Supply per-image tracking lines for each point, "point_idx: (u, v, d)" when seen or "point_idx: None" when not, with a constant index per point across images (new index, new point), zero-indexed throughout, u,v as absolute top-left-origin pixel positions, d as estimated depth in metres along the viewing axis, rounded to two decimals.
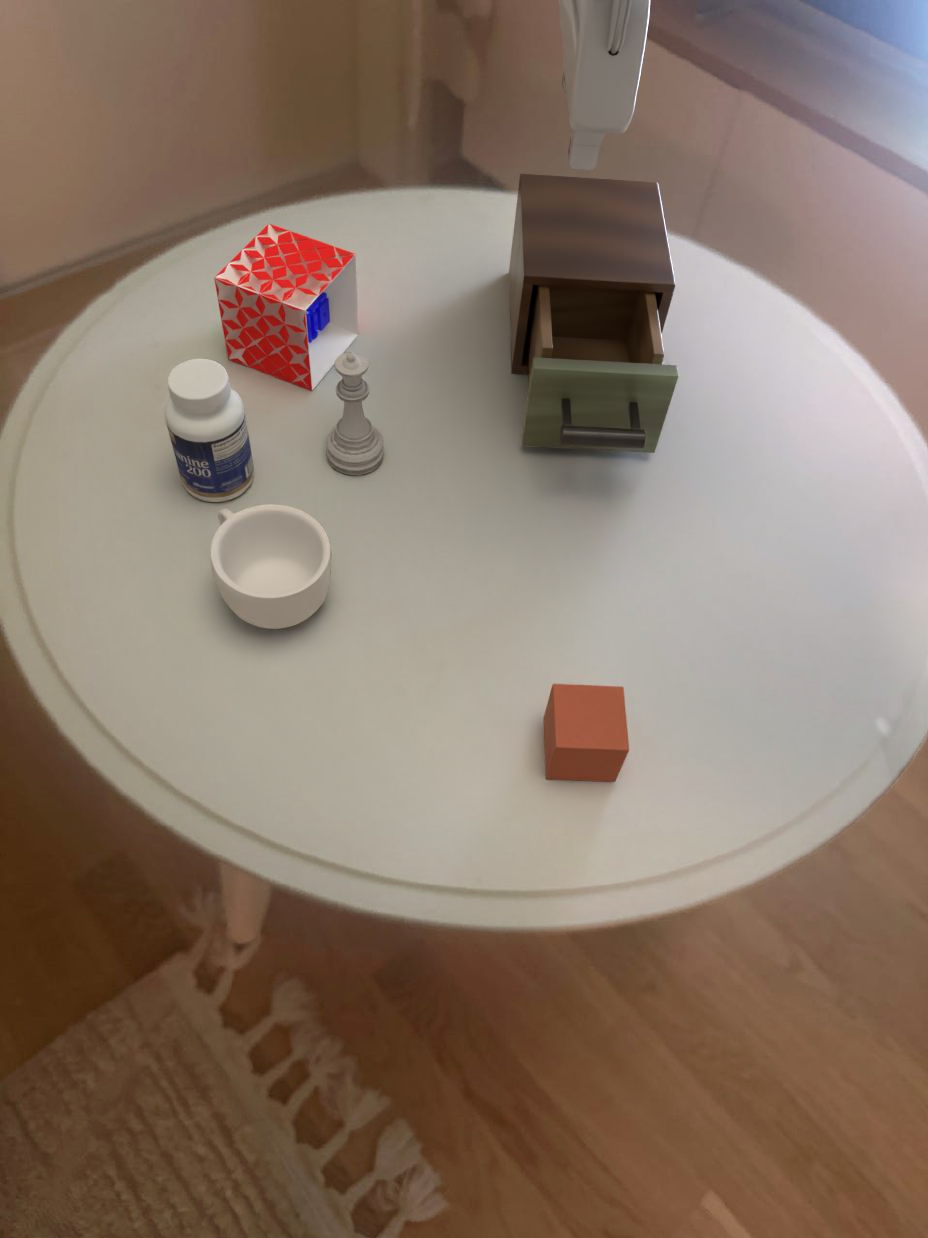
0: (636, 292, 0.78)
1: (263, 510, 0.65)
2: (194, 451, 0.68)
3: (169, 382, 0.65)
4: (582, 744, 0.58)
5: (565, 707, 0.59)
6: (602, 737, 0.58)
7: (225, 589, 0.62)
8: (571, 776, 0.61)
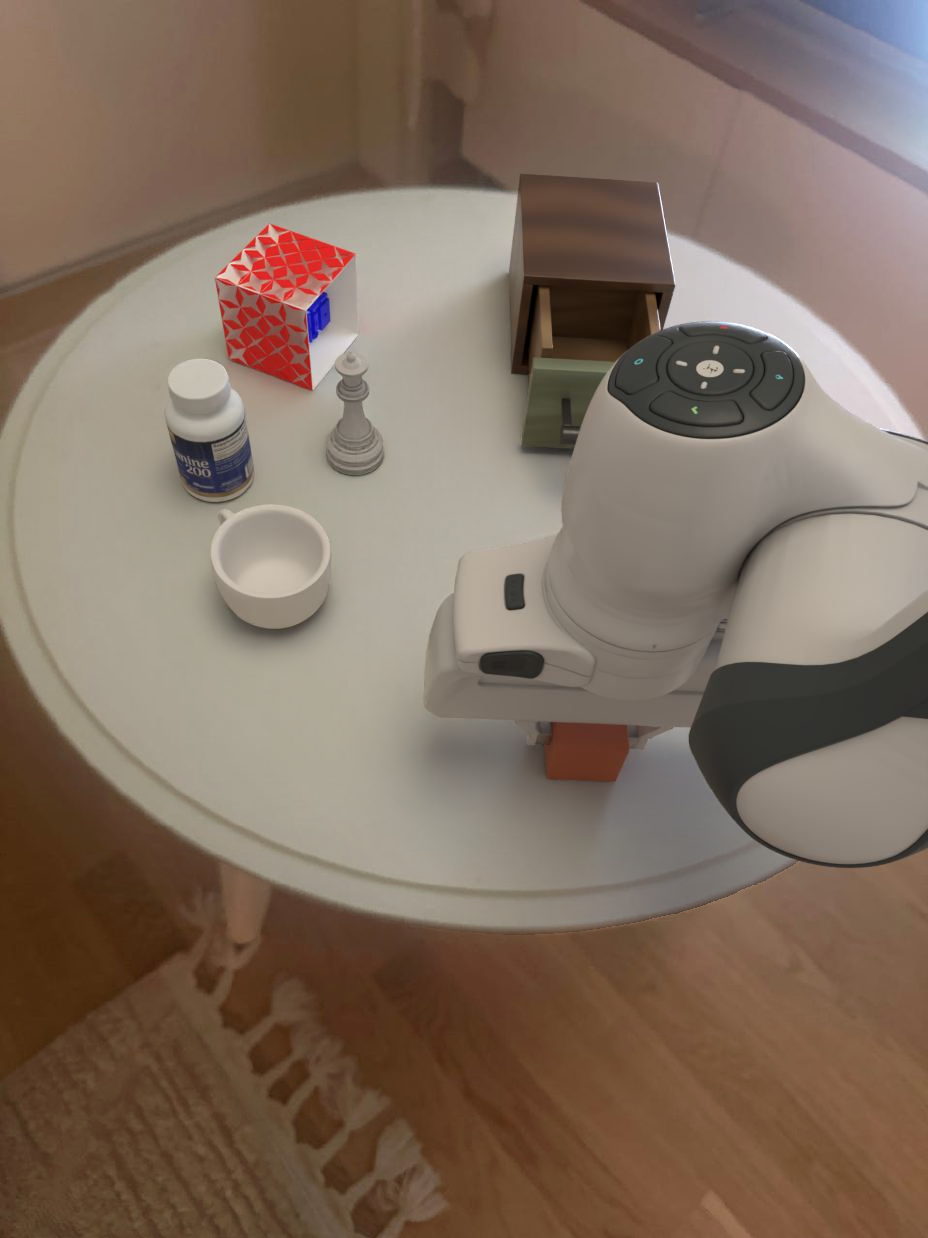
0: (636, 292, 0.78)
1: (263, 510, 0.65)
2: (194, 451, 0.68)
3: (169, 382, 0.65)
4: (583, 744, 0.58)
5: None
6: (603, 737, 0.58)
7: (225, 589, 0.62)
8: (572, 776, 0.61)
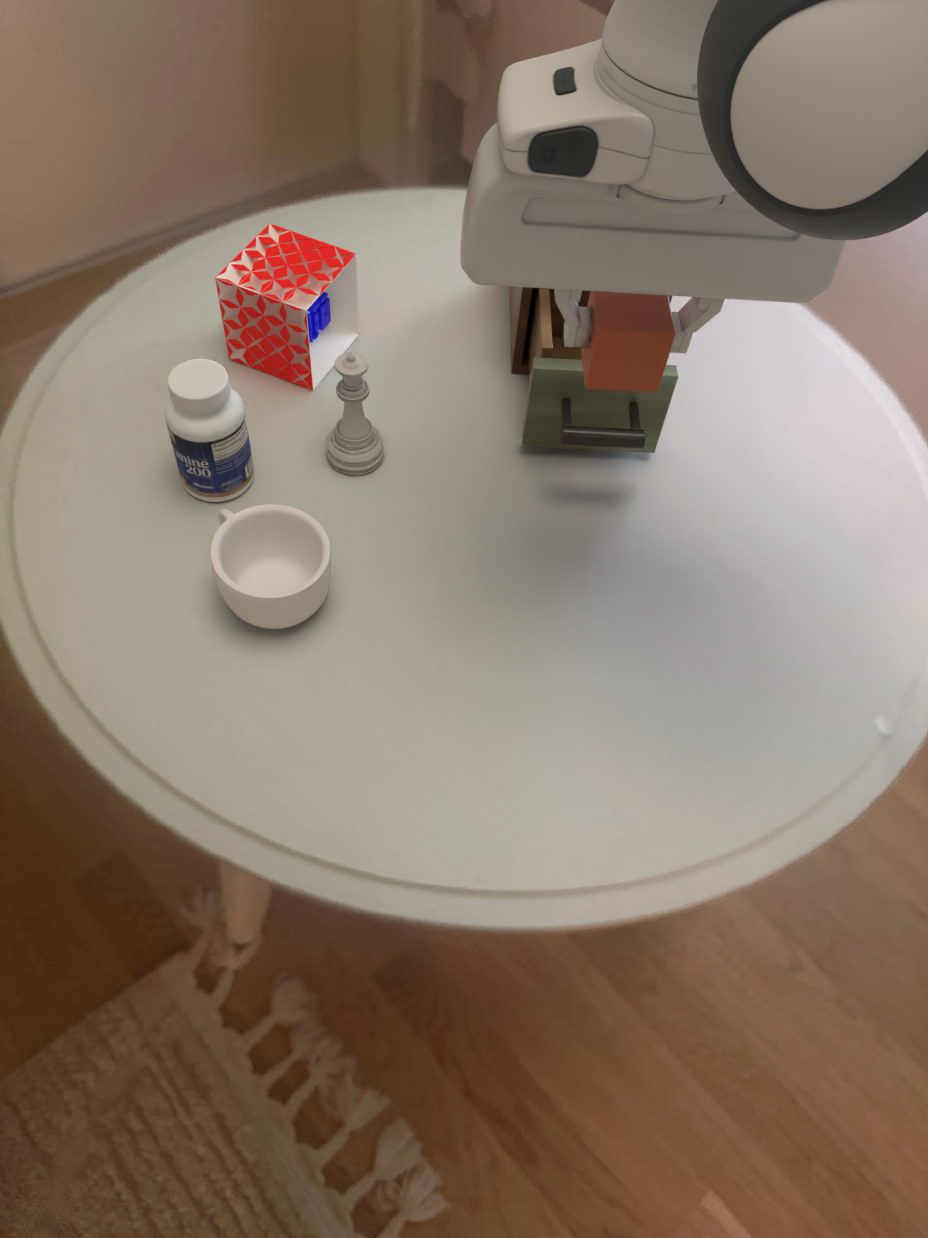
0: None
1: (263, 510, 0.65)
2: (194, 451, 0.68)
3: (169, 382, 0.65)
4: (626, 328, 0.55)
5: (607, 299, 0.56)
6: (647, 323, 0.55)
7: (225, 589, 0.62)
8: (612, 383, 0.58)
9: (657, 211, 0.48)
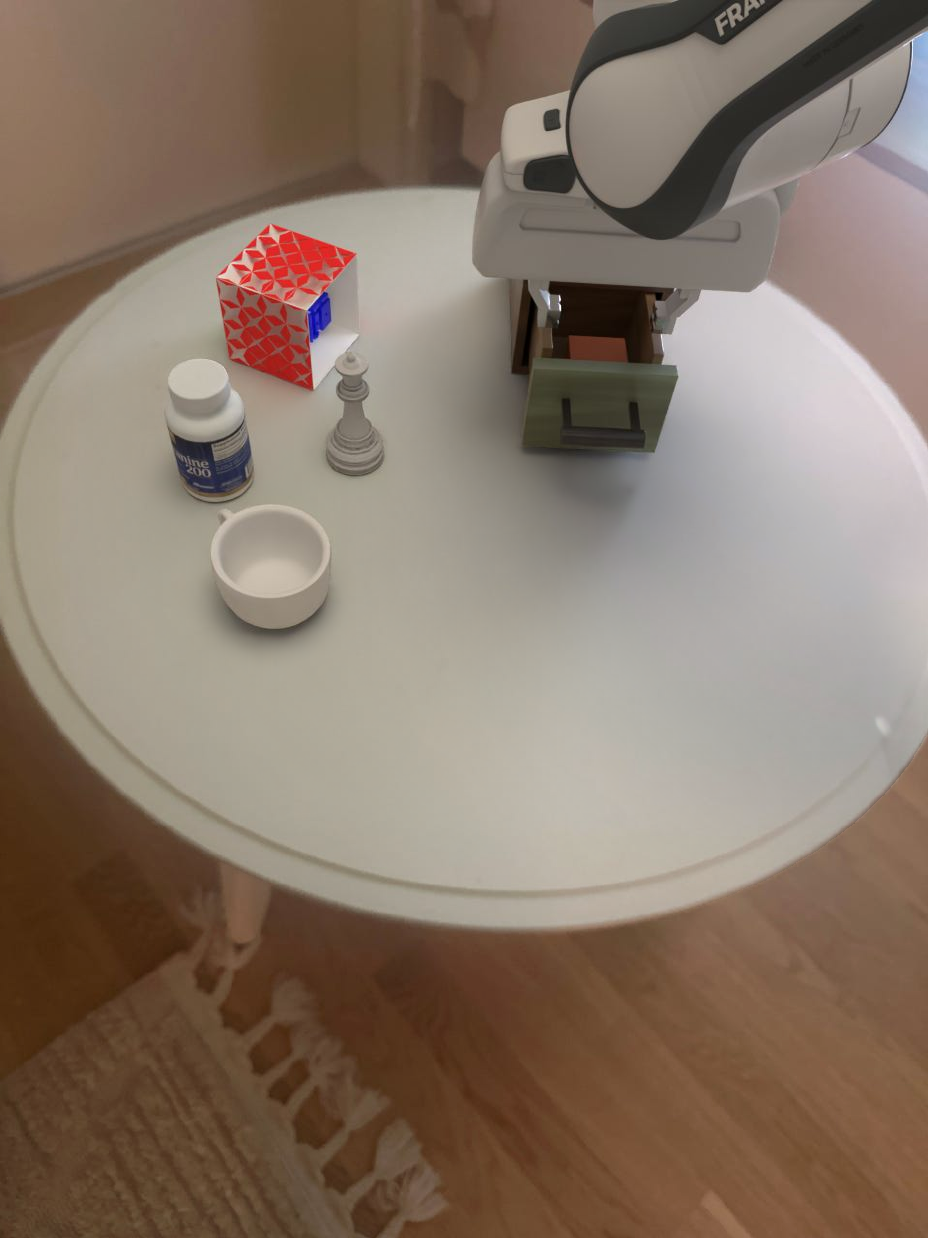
0: (636, 292, 0.78)
1: (263, 510, 0.65)
2: (194, 451, 0.68)
3: (169, 382, 0.65)
4: None
5: (579, 349, 0.75)
6: None
7: (225, 589, 0.62)
8: None
9: None
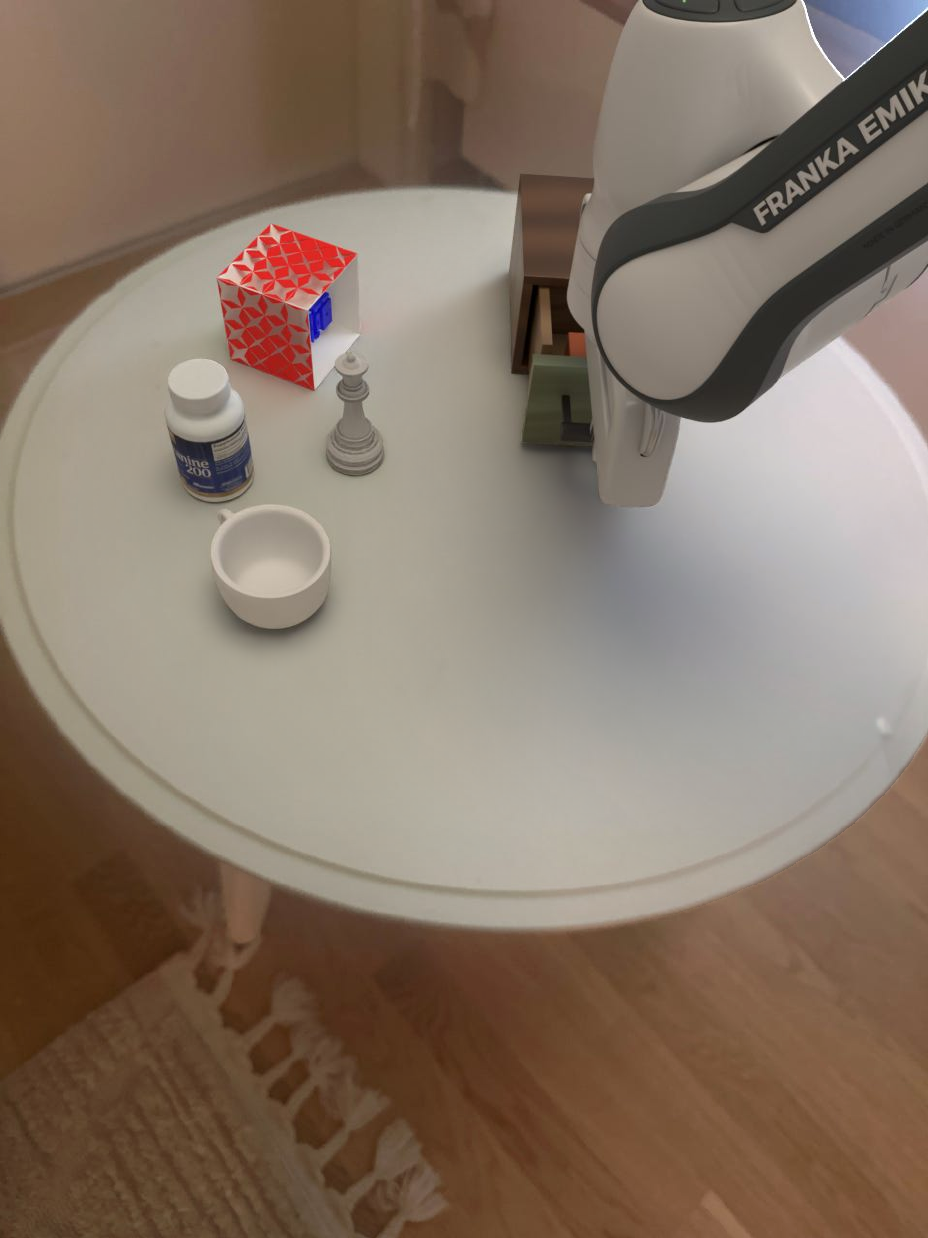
0: None
1: (263, 510, 0.65)
2: (194, 451, 0.68)
3: (169, 382, 0.65)
4: None
5: (578, 346, 0.75)
6: None
7: (225, 589, 0.62)
8: None
9: None
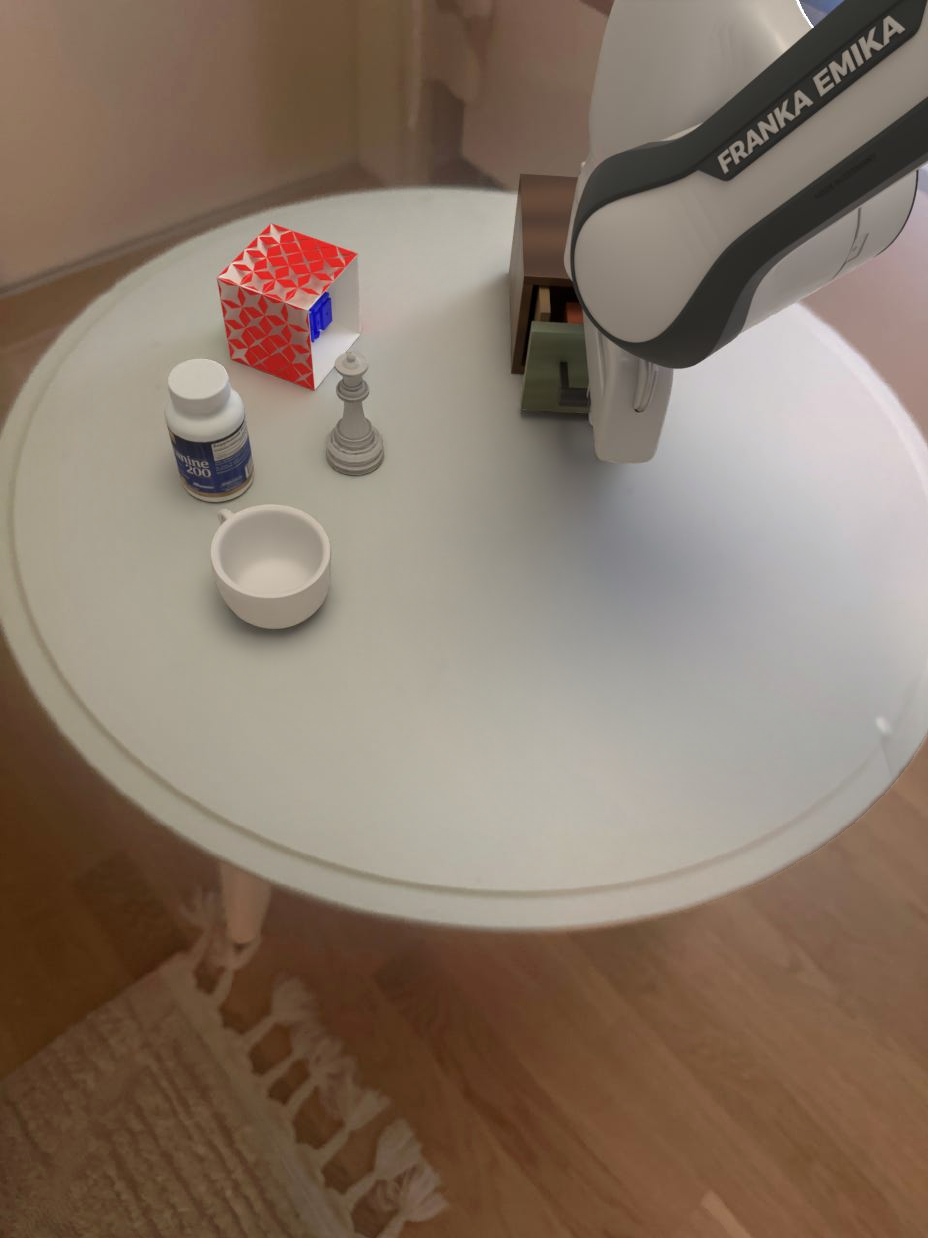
0: None
1: (263, 510, 0.65)
2: (194, 451, 0.68)
3: (169, 382, 0.65)
4: None
5: (576, 315, 0.77)
6: None
7: (225, 589, 0.62)
8: None
9: None
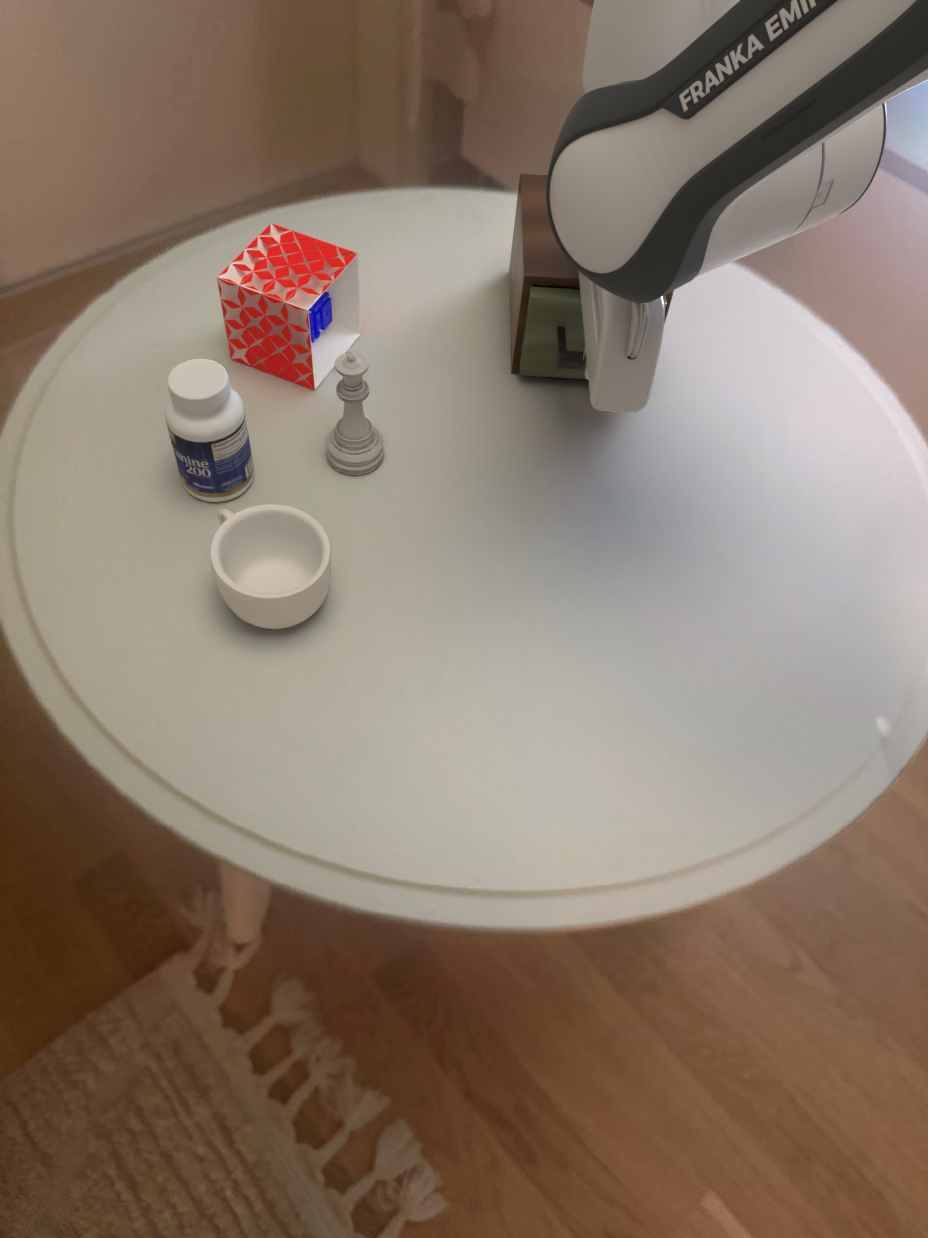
0: None
1: (263, 510, 0.65)
2: (194, 451, 0.68)
3: (169, 382, 0.65)
4: None
5: None
6: None
7: (225, 589, 0.62)
8: None
9: None
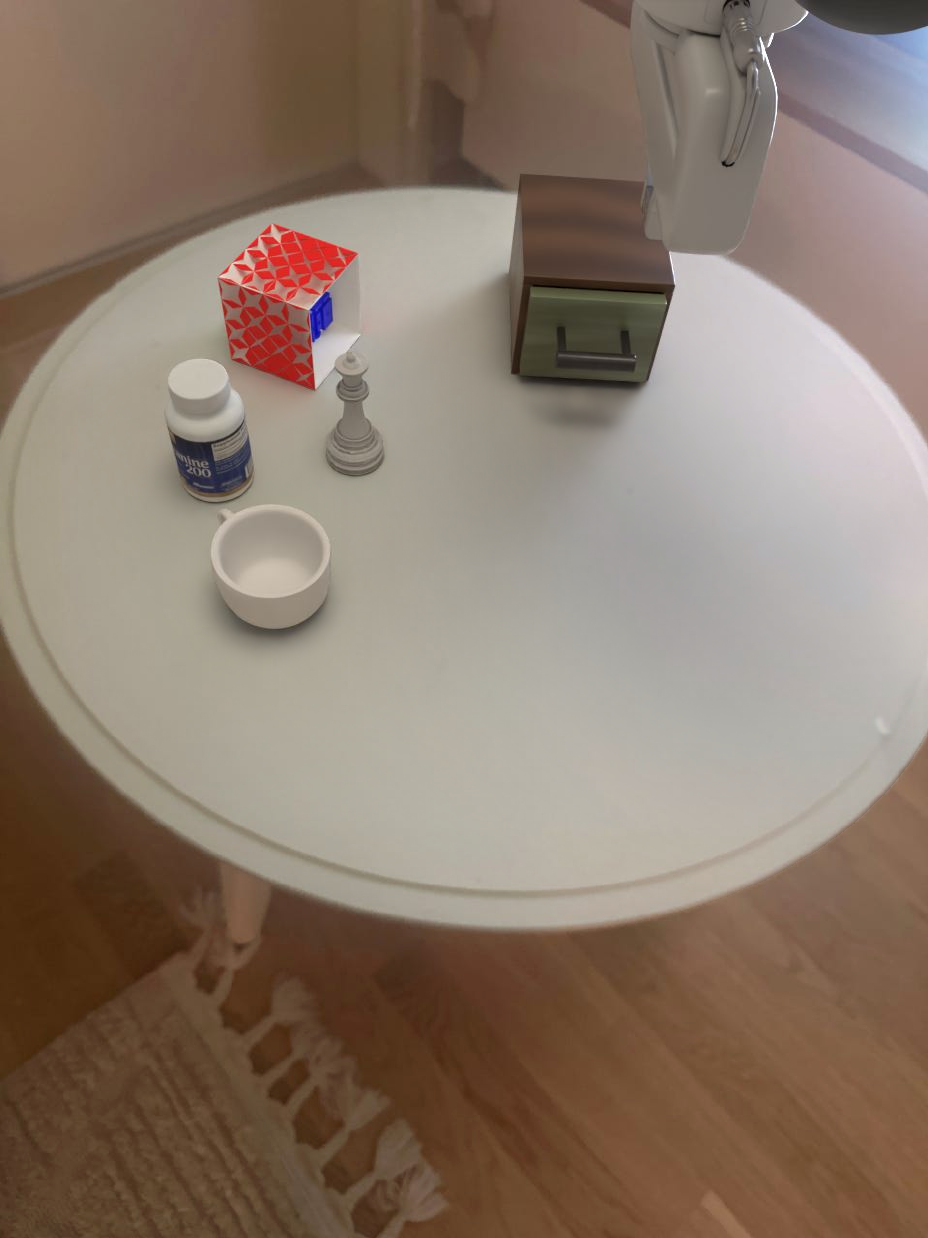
0: None
1: (263, 510, 0.65)
2: (194, 451, 0.68)
3: (169, 382, 0.65)
4: None
5: None
6: None
7: (225, 589, 0.62)
8: None
9: None
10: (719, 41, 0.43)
